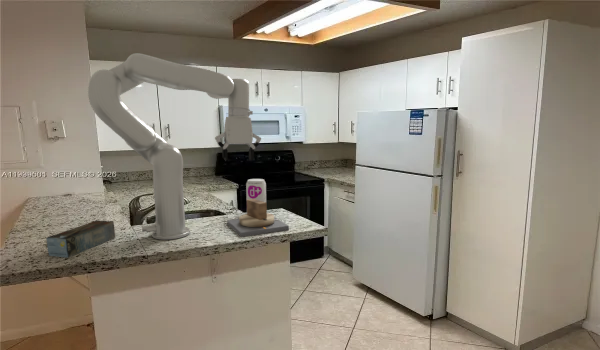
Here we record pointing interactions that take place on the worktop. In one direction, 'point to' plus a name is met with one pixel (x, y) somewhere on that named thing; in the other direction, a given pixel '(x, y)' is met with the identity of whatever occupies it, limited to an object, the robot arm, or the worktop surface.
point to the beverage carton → (80, 238)
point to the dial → (256, 214)
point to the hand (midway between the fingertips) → (238, 159)
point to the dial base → (249, 231)
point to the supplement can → (256, 189)
